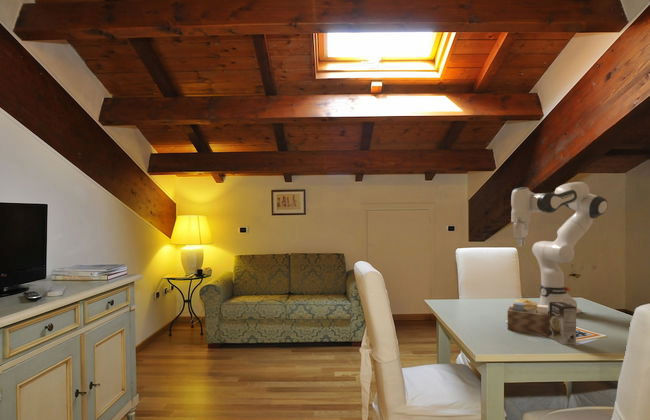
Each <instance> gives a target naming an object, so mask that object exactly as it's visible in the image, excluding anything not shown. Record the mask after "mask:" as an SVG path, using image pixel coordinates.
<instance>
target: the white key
mask: <svg viewBox="0 0 650 420" xmlns="http://www.w3.org/2000/svg"><path fill="white" fill-rule="evenodd" d="M536 304H537V313H541V314H548V305H539V304H538V303H536Z"/></svg>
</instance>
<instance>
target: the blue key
mask: <svg viewBox="0 0 650 420" xmlns="http://www.w3.org/2000/svg"><path fill="white" fill-rule="evenodd" d="M513 302H514V301H513ZM512 304H513V303H512ZM513 310H515V311H523V312H524V303H519V302H514V304H513Z"/></svg>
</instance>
